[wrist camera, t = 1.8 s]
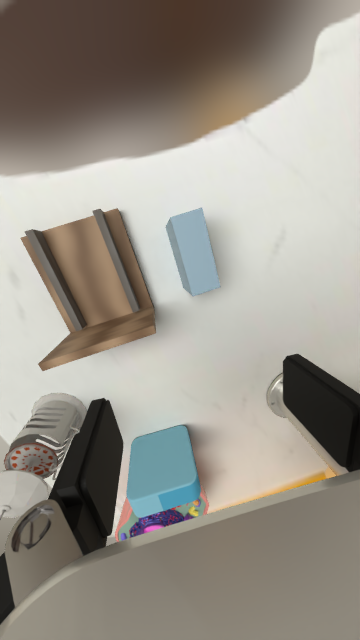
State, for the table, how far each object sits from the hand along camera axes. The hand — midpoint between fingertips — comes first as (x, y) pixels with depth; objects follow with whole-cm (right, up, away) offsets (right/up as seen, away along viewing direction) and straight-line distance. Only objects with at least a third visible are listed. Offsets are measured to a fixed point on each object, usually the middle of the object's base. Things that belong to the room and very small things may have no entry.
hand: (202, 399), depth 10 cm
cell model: (-6, -34, +37) cm, 51 cm away
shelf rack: (-15, +11, +22) cm, 28 cm away
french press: (-23, -14, +28) cm, 39 cm away
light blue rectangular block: (0, +15, +23) cm, 27 cm away
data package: (-5, -22, +33) cm, 40 cm away
